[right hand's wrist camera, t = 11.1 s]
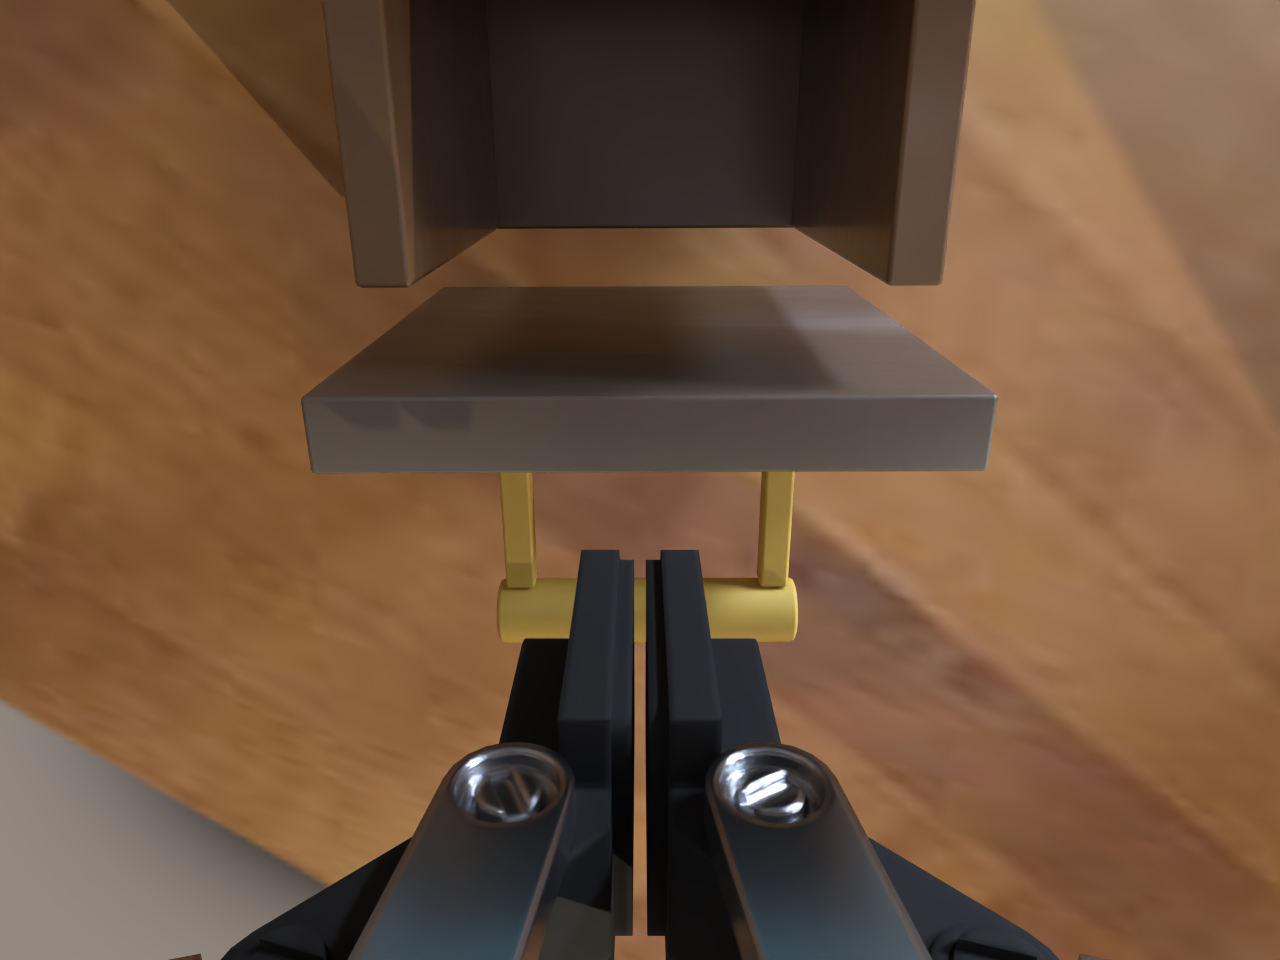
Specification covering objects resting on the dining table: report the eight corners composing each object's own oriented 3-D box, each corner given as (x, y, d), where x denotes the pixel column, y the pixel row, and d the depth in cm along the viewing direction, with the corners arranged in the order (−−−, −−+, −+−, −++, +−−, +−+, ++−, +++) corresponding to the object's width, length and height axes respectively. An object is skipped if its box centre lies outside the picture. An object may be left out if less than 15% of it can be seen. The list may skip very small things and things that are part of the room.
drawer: (828, 536, 24) (942, 780, 15) (463, 538, 24) (356, 783, 15) (901, -371, 17) (1201, -949, 8) (386, -369, 17) (96, -943, 8)
